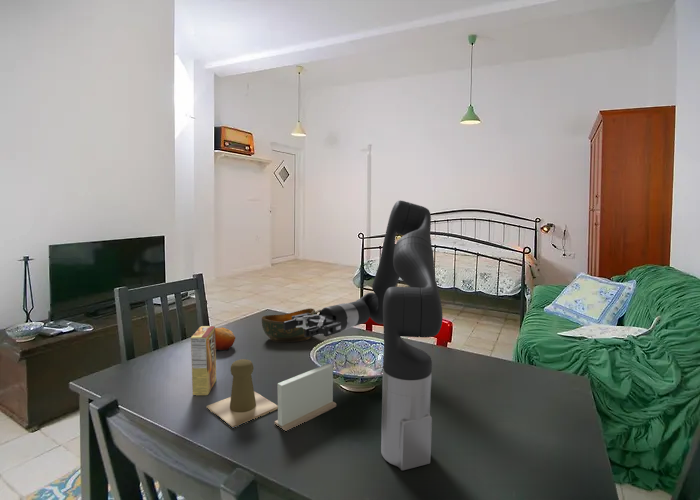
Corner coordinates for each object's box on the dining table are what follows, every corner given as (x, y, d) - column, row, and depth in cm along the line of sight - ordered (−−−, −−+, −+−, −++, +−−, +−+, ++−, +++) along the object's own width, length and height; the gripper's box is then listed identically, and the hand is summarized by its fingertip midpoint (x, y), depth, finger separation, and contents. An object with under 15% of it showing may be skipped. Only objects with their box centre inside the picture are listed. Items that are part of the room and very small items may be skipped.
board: (278, 408, 95) (278, 406, 95) (232, 429, 86) (232, 426, 86) (250, 391, 103) (250, 389, 103) (206, 408, 95) (206, 405, 95)
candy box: (201, 380, 109) (199, 325, 107) (217, 379, 110) (215, 325, 108) (192, 396, 100) (189, 337, 98) (209, 395, 101) (207, 336, 99)
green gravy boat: (312, 347, 133) (312, 318, 132) (258, 341, 139) (258, 313, 138) (325, 335, 146) (325, 308, 145) (276, 330, 151) (275, 304, 150)
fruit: (202, 342, 133) (215, 321, 134) (224, 351, 136) (236, 330, 137) (204, 351, 126) (217, 328, 127) (227, 360, 129) (240, 338, 130)
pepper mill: (259, 400, 98) (258, 357, 96) (250, 413, 92) (249, 367, 90) (235, 398, 98) (234, 355, 97) (225, 411, 92) (224, 365, 91)
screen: (324, 400, 99) (325, 361, 98) (336, 406, 96) (336, 366, 95) (274, 424, 88) (273, 381, 87) (285, 432, 85) (285, 387, 84)
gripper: (322, 300, 119) (277, 310, 107) (357, 309, 109) (312, 320, 97) (322, 325, 120) (277, 337, 108) (357, 336, 110) (312, 350, 98)
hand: (294, 329), depth 103 cm, fingers open, 8 cm apart
